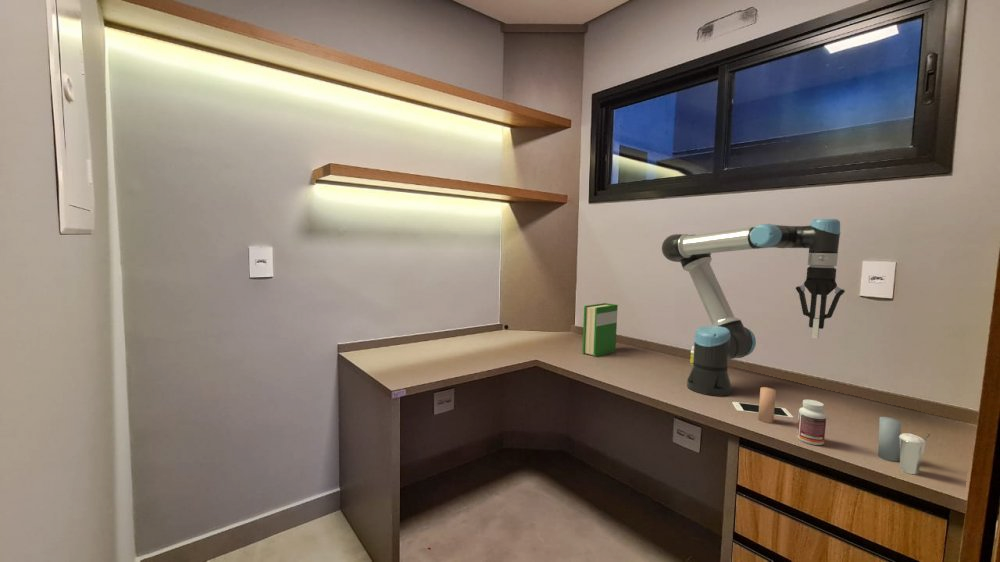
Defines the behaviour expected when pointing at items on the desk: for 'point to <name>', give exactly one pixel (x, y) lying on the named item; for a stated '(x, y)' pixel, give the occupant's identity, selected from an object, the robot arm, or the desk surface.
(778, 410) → the cell phone
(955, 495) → the desk surface
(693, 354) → the supplement bottle
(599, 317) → the hardback book
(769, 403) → the terracotta post
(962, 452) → the desk surface
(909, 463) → the milkshake
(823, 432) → the pill bottle
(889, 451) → the slate post
